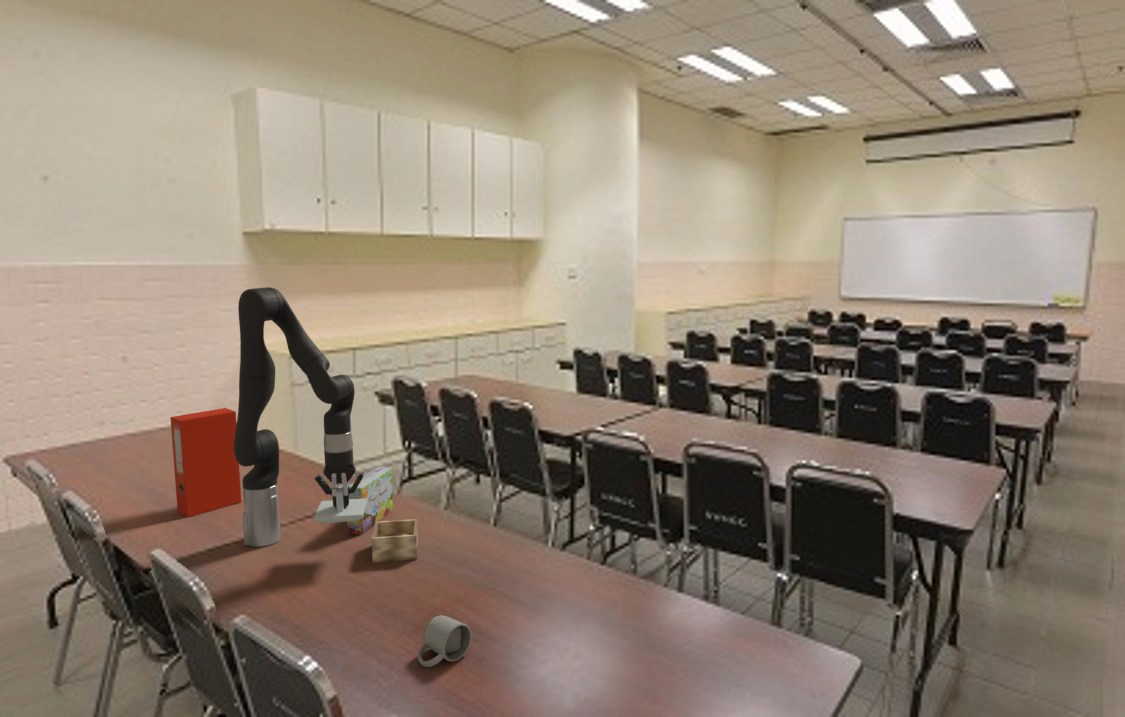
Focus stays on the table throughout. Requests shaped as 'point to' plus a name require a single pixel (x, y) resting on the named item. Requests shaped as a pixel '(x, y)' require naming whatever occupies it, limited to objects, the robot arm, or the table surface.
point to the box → (395, 540)
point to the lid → (340, 509)
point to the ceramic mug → (445, 640)
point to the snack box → (373, 499)
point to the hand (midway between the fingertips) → (341, 507)
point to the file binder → (205, 461)
